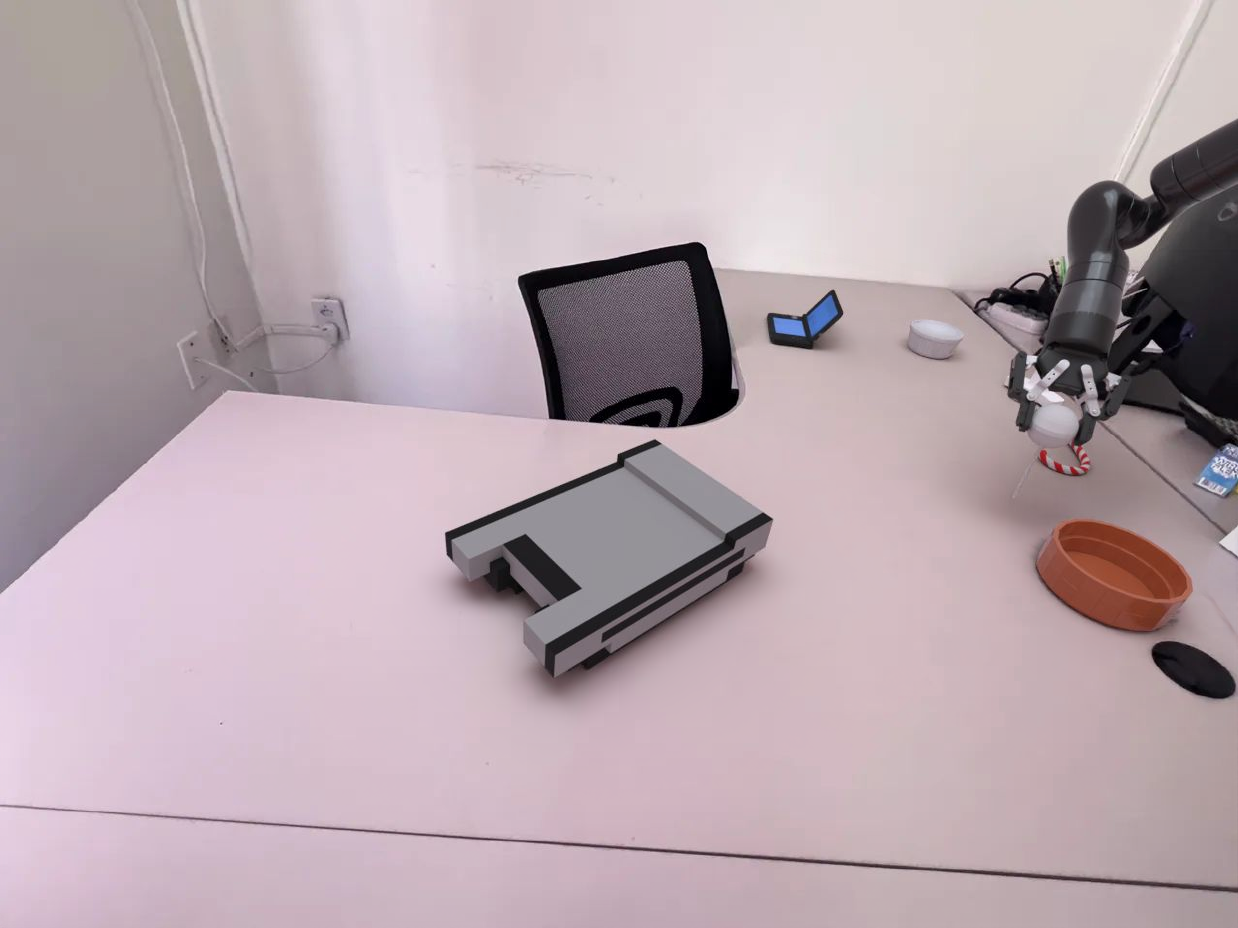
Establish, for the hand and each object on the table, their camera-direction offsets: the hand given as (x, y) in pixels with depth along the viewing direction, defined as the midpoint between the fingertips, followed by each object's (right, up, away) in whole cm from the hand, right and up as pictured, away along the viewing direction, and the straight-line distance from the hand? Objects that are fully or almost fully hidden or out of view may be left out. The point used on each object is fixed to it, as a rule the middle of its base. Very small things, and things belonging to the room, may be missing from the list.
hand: (1050, 437), depth 86 cm
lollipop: (0, -9, +8) cm, 12 cm away
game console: (-17, +26, +61) cm, 68 cm away
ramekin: (+13, +22, +60) cm, 65 cm away
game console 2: (-58, -17, -6) cm, 61 cm away
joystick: (+25, +9, +45) cm, 52 cm away
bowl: (+6, -20, -1) cm, 21 cm away
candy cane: (+20, -2, +28) cm, 34 cm away
